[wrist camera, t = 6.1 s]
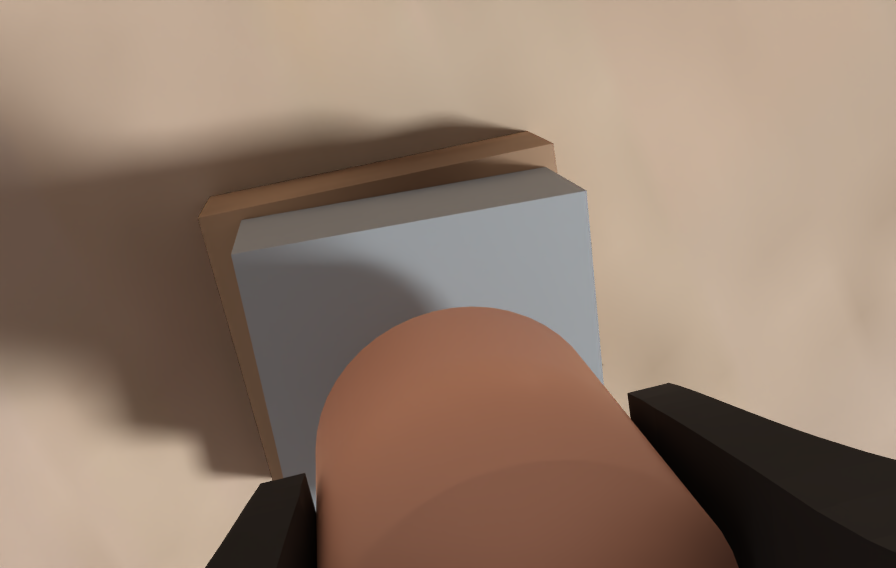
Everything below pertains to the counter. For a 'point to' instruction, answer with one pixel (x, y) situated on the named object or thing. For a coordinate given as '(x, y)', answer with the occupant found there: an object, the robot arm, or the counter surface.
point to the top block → (405, 281)
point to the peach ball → (493, 458)
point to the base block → (338, 187)
